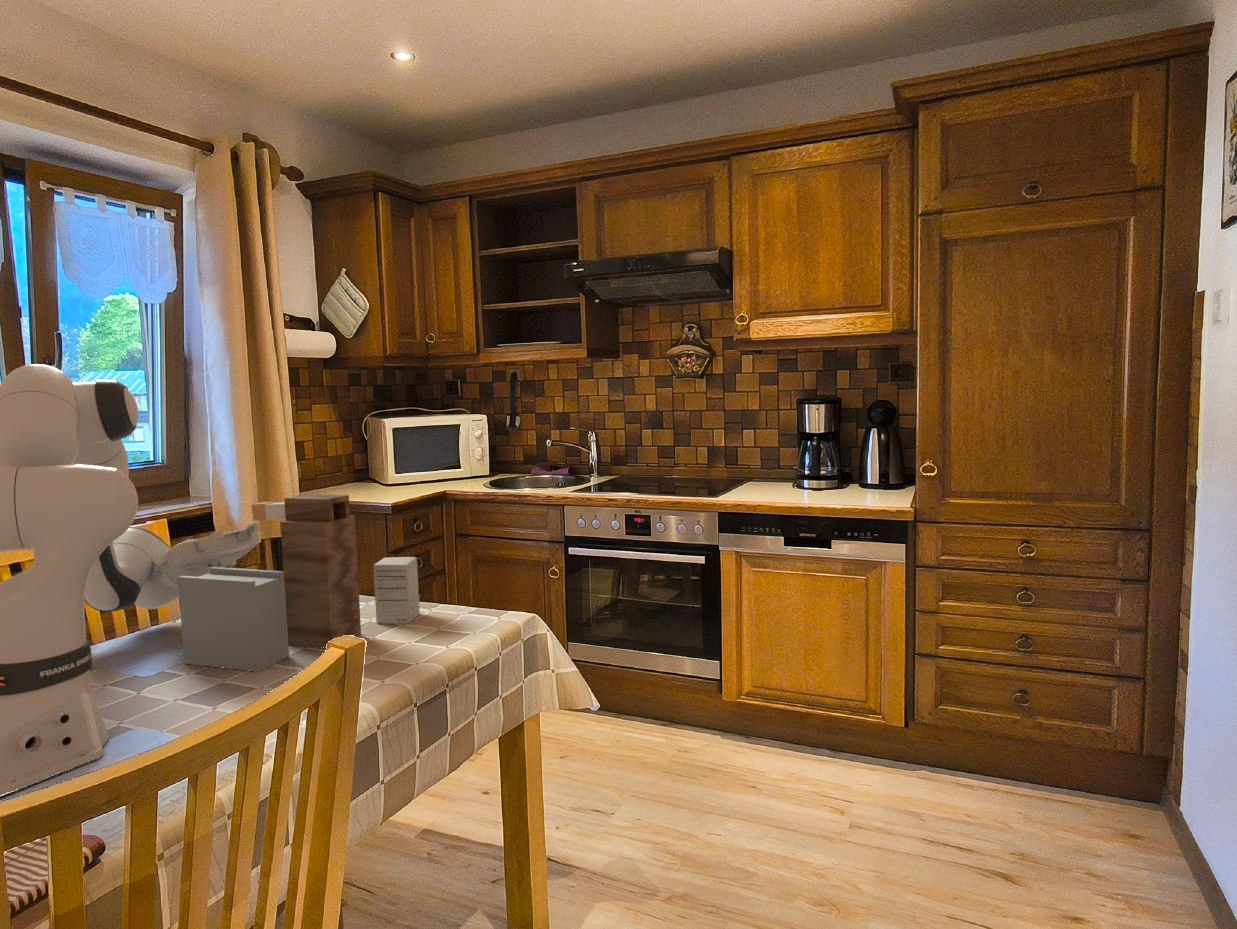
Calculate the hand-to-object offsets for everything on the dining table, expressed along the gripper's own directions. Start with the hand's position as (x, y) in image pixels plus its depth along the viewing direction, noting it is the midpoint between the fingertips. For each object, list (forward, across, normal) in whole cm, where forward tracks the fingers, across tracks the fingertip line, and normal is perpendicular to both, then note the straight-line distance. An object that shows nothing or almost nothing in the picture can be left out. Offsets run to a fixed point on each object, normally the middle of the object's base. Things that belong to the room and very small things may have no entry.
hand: (238, 530), depth 155 cm
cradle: (-1, -14, +24) cm, 28 cm away
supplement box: (+11, +16, +31) cm, 37 cm away
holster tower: (+6, 0, +28) cm, 29 cm away
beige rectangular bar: (+12, 0, +4) cm, 12 cm away
